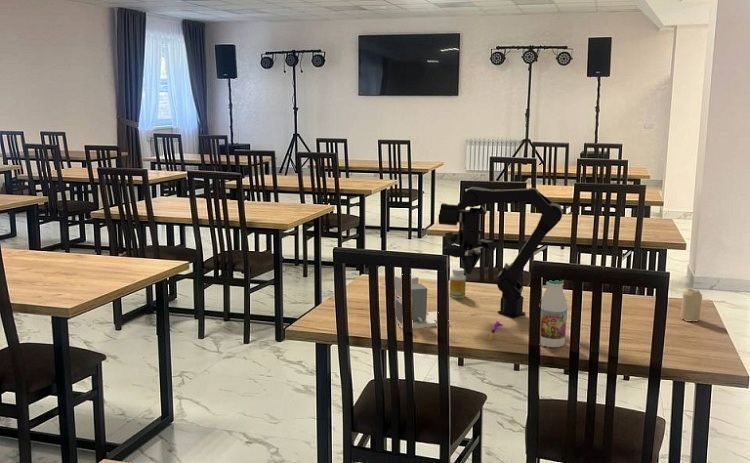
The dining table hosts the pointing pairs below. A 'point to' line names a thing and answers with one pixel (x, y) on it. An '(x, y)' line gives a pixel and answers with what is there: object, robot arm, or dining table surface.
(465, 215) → the robot arm
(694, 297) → the candle
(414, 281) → the product box
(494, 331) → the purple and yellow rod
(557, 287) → the milk bottle
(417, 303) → the gray block
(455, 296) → the supplement bottle
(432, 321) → the plate
